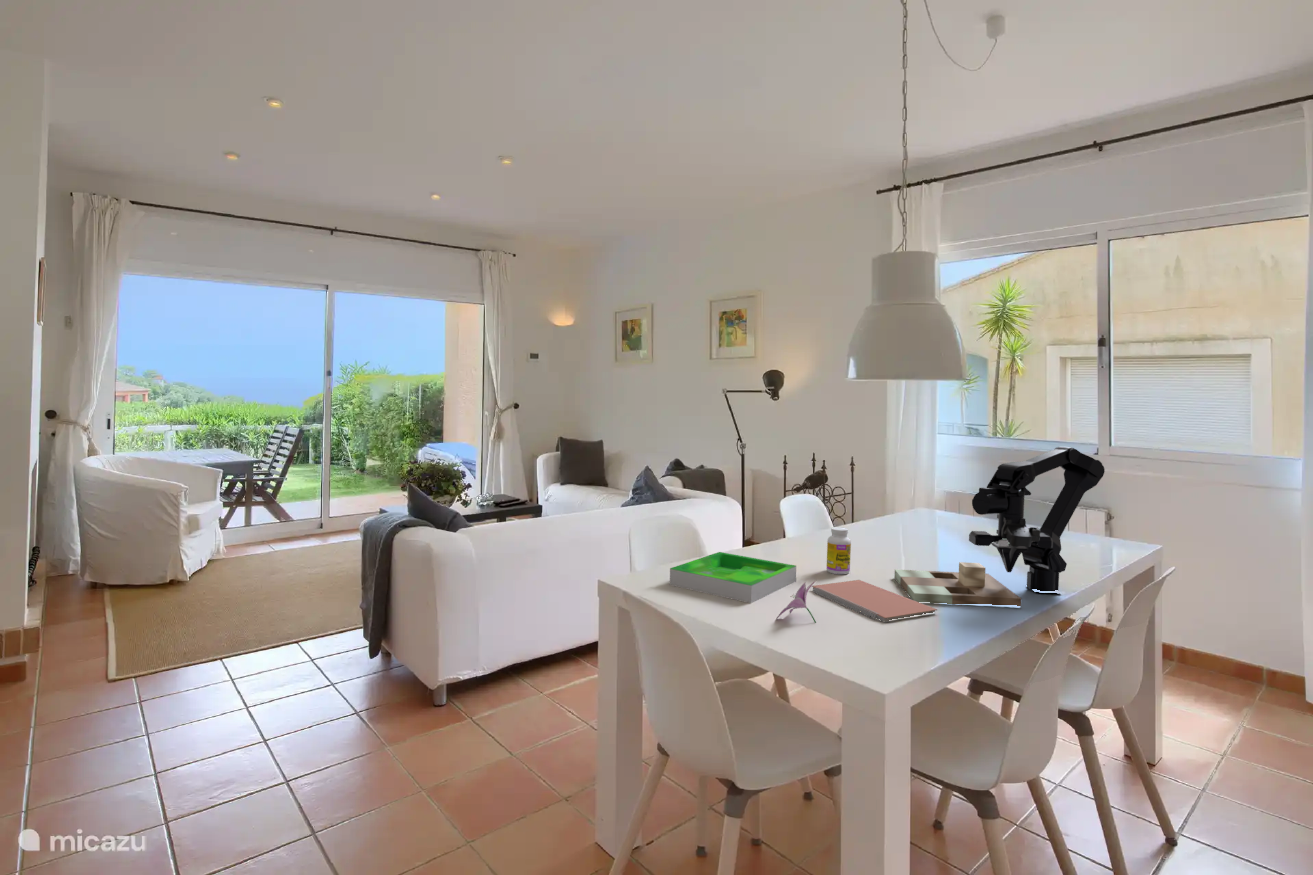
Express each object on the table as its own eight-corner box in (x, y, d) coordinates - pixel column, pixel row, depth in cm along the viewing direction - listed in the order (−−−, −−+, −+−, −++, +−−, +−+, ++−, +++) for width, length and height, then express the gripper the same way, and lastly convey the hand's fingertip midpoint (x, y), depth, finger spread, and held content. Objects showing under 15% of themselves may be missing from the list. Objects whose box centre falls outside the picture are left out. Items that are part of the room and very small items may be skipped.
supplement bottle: (833, 575, 192) (835, 531, 191) (822, 569, 198) (823, 526, 197) (854, 574, 194) (855, 530, 193) (842, 568, 200) (843, 525, 199)
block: (978, 581, 178) (978, 562, 178) (984, 586, 173) (985, 567, 173) (958, 580, 179) (959, 562, 179) (964, 585, 174) (965, 566, 174)
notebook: (808, 592, 177) (808, 585, 177) (858, 585, 184) (859, 578, 183) (881, 625, 152) (881, 617, 152) (937, 616, 159) (937, 608, 159)
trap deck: (987, 582, 187) (988, 573, 186) (1020, 608, 164) (1021, 598, 164) (894, 578, 190) (894, 569, 190) (914, 602, 167) (914, 593, 167)
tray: (751, 605, 166) (751, 585, 165) (669, 586, 181) (669, 568, 181) (795, 583, 186) (796, 565, 185) (719, 568, 201) (719, 551, 200)
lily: (814, 614, 161) (796, 578, 162) (844, 609, 151) (824, 570, 152) (778, 638, 155) (758, 600, 157) (806, 634, 145) (785, 593, 146)
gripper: (983, 517, 167) (981, 578, 168) (1064, 519, 164) (1061, 582, 165) (969, 509, 178) (967, 567, 179) (1044, 511, 175) (1041, 570, 176)
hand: (1008, 571), depth 175 cm, fingers closed
